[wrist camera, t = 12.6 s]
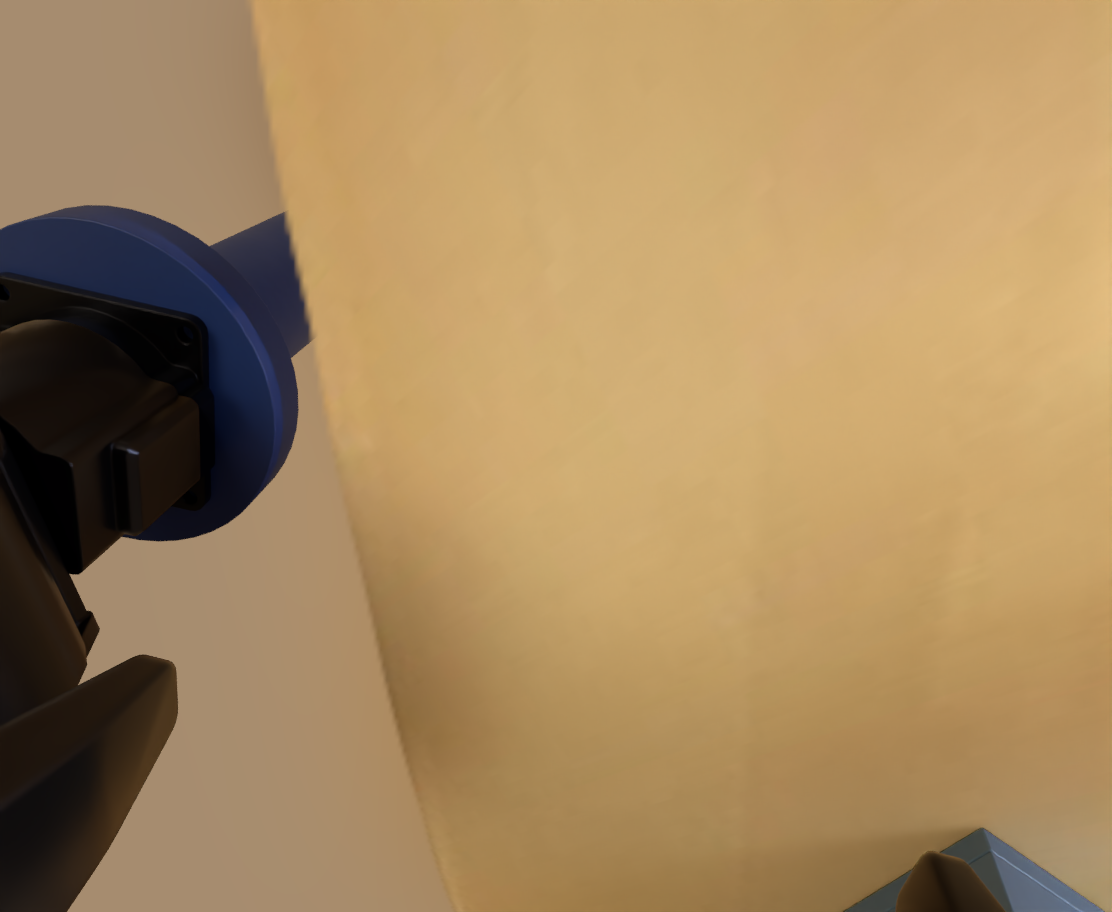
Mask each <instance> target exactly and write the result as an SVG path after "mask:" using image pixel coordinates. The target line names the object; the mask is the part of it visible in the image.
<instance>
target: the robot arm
mask: <svg viewBox="0 0 1112 912" xmlns="http://www.w3.org/2000/svg"><path fill="white" fill-rule="evenodd" d="M3 285H4V286H5V287H6V288H7V289H8V291H9V293H10V296H9V295H8V294H7V293H6V292H5V291H4V288H3ZM184 326H185V327H187V328H189V329H190V330H191V332H192V334H193V339H192V338H190V337H188V336H187V335H186V334H185V332H184V329H183V327H184ZM214 465H215V402H214V395H213V393H212V391H211V389H210V388H209V334H208V329H207V326H206V325H205V323H204V322H203V321H202V320H201V319H200V318H199V317H198V316H195V315H193V314H190V313H186V312H181V311H177V310H172V309H168V308H164V307H159V306H155V305H151V304H146V303H142V302H138V301H133V300H129V299H124V298H120V297H116V296H111V295H107V294H103V293H98V292H94V291H90V290H85V289H81V288H76V287H72V286H68V285H63V284H59V283H55V282H50V281H46V280H42V279H37V278H33V277H29V276H24V275H20V274H15V273H11V272H1V273H0V912H67V911H68V909H69V908H70V906H71V904H72V903H73V902H74V900H75V899H76V897H77V896H78V894H79V893H80V891H81V890H82V888H83V887H84V886H85V884H86V883H87V881H88V880H89V878H90V877H91V875H92V874H93V872H94V871H95V869H96V868H97V866H98V865H99V863H100V861H101V860H102V858H103V857H104V855H105V853H106V852H107V850H108V849H109V847H110V845H111V843H112V842H113V840H114V838H115V837H116V835H117V833H118V831H119V829H120V828H121V826H122V824H123V822H124V820H125V818H126V816H127V815H128V813H129V811H130V809H131V807H132V805H133V803H134V801H135V800H136V798H137V796H138V794H139V792H140V790H141V788H142V786H143V785H144V782H145V781H146V779H147V777H148V775H149V773H150V772H151V770H152V768H153V766H154V764H155V762H156V760H157V759H158V757H159V755H160V753H161V751H162V749H163V747H164V745H165V744H166V742H167V740H168V738H169V736H170V734H171V732H172V730H173V728H174V725H175V723H176V719H177V714H178V698H177V676H176V667H175V666H174V664H173V663H172V662H170V661H169V660H164V659H161V658H157V657H153V656H149V655H138V656H135V657H132V658H130V659H128V660H126V661H125V662H123V663H121V664H119V665H117V666H115V667H113V668H111V669H109V670H107V671H105V672H103V673H101V674H99V675H98V676H96V677H94V678H92V679H90V680H88V681H86V682H84V683H82V684H80V685H78V684H79V682H80V679H81V677H82V675H83V673H84V671H85V668H86V666H87V659H86V658H87V656H88V654H89V651H90V650H91V647H92V645H93V643H94V641H95V639H96V637H97V635H98V633H99V629H100V628H99V626H98V624H97V622H96V620H95V618H94V615H93V613H92V612H91V611H86V609H85V606H84V604H83V602H82V600H81V598H80V596H79V594H78V592H77V589H76V587H75V585H74V583H73V581H72V579H71V577H70V575H69V574H80V573H81V572H83V571H84V570H85V569H86V568H87V567H88V566H89V565H90V564H92V563H93V562H94V561H95V560H96V559H97V558H98V557H99V556H100V555H102V554H103V553H104V552H105V551H106V550H107V549H108V548H109V547H110V546H112V545H113V544H114V543H115V542H116V541H117V540H118V539H119V538H120V537H122V536H123V535H124V534H128V535H132V536H136V535H138V534H140V533H141V532H143V531H144V530H146V529H147V528H148V527H149V526H150V525H151V524H152V523H153V522H154V521H155V520H156V519H158V518H159V517H160V516H161V515H162V514H163V513H164V512H165V511H166V510H167V509H168V508H169V507H171V506H173V507H177V508H181V509H186V510H190V511H197V510H200V509H201V508H202V507H203V506H204V505H205V504H206V503H207V502H208V501H209V500H210V498H211V469H212V468H213V467H214ZM189 490H190V491H192V492H194V494H195V495H196V496H197V498H195V497H193V496H192V495H191V494H190V493H189ZM895 912H1006V911H1005V910H1004V909H1003V907H1002V906H1001V905H1000V903H999V902H998V901H997V900H996V898H995V897H994V896H993V895H992V893H991V892H990V891H989V889H988V888H987V887H986V886H985V884H984V883H983V882H982V881H981V879H980V878H979V877H978V876H977V874H976V873H975V872H974V870H973V869H972V868H971V867H970V866H969V865H968V864H967V863H966V862H965V861H964V860H962V859H960V858H958V857H954V856H950V855H946V854H942V853H938V852H934V851H928V852H926V853H924V854H923V855H922V856H921V857H920V859H919V860H918V862H917V864H916V865H915V867H914V869H913V870H912V872H911V874H910V875H909V877H908V879H907V880H906V882H905V884H904V885H903V887H902V888H901V890H900V892H899V894H898V898H897V902H896V911H895Z"/></svg>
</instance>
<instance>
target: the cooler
mask: <svg viewBox="0 0 1112 912" xmlns="http://www.w3.org/2000/svg"><path fill="white" fill-rule="evenodd" d="M940 853H942V854H946V855H950V856H954V857H958V858H960V859H962V860H964V861H965V862H966V863H967V864H968V865H969V866H970V867H971V868H972V869H973V870H974V872H975V873H976V874H977V876H978V877H979V878H980V879H981V881H982V882H983V883H984V884H985V886H986V887H987V888H988V889H989V891H990V892H991V893H992V895H993V896H994V897H995V898H996V900H997V901H998V902H999V903H1000V905H1001V906H1002V907H1003V909H1004V910H1005V911H1006V912H1105V911H1103V910H1102V909H1100V908H1099V907H1097V906H1096V905H1094V904H1093V903H1091V902H1090V901H1089V900H1087V899H1086V898H1084V897H1083V896H1081V895H1080V894H1078V893H1077V892H1076V891H1074V890H1073V889H1071V888H1070V887H1068V886H1067V885H1065V884H1064V883H1062V882H1061V881H1060V880H1058V879H1057V878H1055V877H1054V876H1052V875H1051V874H1049V873H1048V872H1046V871H1045V870H1044V869H1042V868H1041V867H1039V866H1038V865H1036V864H1035V863H1033V862H1032V861H1030V860H1029V859H1028V858H1026V857H1025V856H1023V855H1022V854H1020V853H1019V852H1017V851H1016V850H1014V849H1013V848H1012V847H1010V846H1009V845H1007V844H1006V843H1004V842H1003V841H1001V840H1000V839H998V838H997V837H996V836H994V835H993V834H991V833H990V832H988V831H987V830H985V829H984V828H980V829H978V830H976V831H975V832H973V833H971V834H970V835H968V836H967V837H965V838H963V839H962V840H960V841H958V842H957V843H955V844H953V845H952V846H950V847H949V848H947V849H945V850H944V851H942V852H940ZM911 872H912V870H911V871H909V872H908V873H906V874H904V875H903V876H901V877H899V878H898V879H896V880H895V881H893V882H891V883H890V884H888V885H886V886H885V887H883V888H881V889H880V890H878V891H877V892H875V893H873V894H872V895H870V896H868V897H867V898H865V899H863V900H862V901H860V902H859V903H857V904H855V905H854V906H852V907H850V908H849V909H847V910H845V911H844V912H895V911H896V902H897V898H898V894H899V892H900V890H901V888H902V887H903V885H904V884H905V882H906V880H907V879H908V877H909V875H910V874H911Z"/></svg>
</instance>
